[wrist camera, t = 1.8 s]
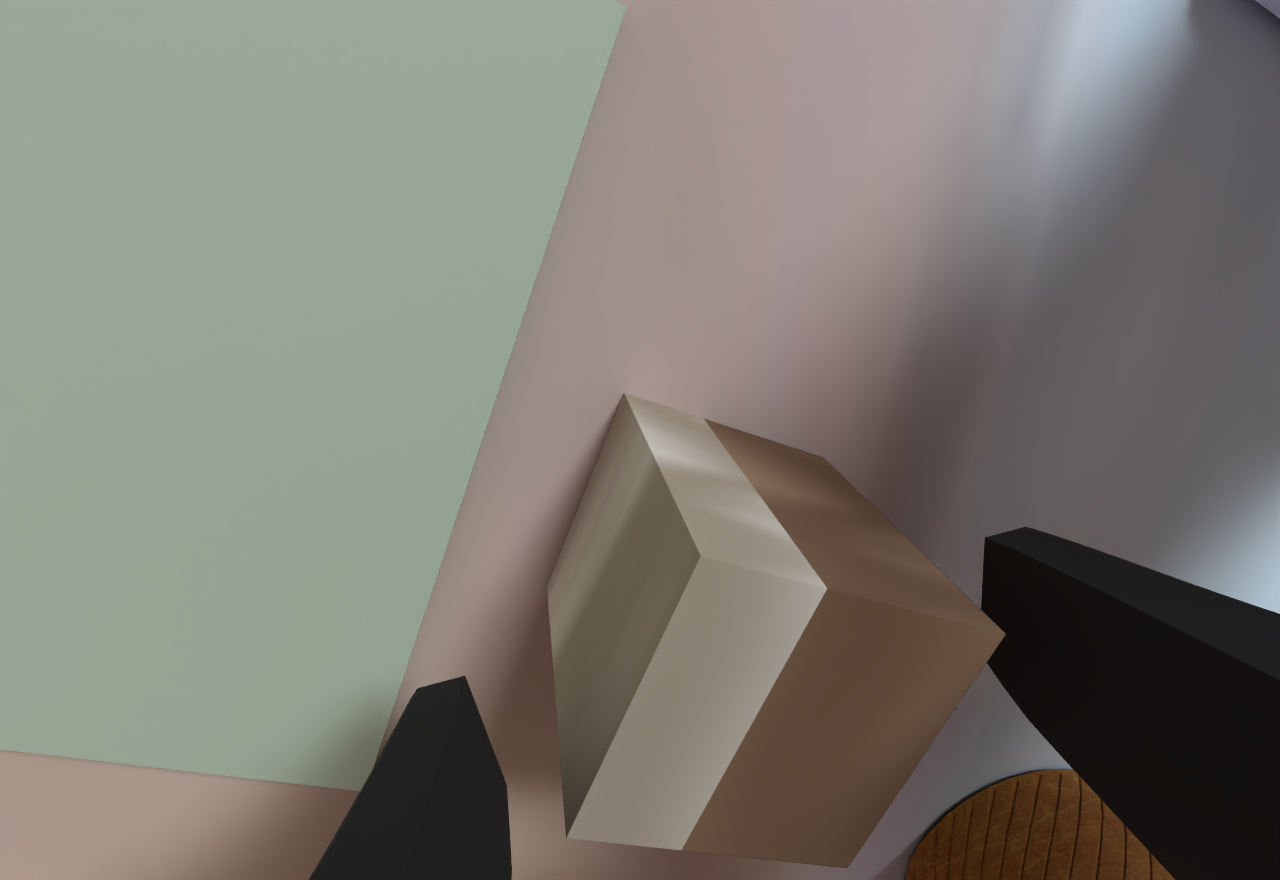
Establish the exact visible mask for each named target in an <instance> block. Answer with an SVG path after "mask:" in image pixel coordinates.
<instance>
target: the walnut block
mask: <svg viewBox="0 0 1280 880" xmlns="http://www.w3.org/2000/svg"><path fill="white" fill-rule="evenodd" d="M547 594H548V607H549V620H550V633H551V646H552V659H553V672H554V685H555V698H556V711H557V724H558V737H559V750H560V763H561V776H562V789H563V802H564V815H565V828H566V838H569V839H578V840H588V841H597V842H606V843H616V844H625V845H635V846H644V847H653V848H663V849H672V850H681V851H691V852H700V853H710V854H719V855H728V856H738V857H747V858H757V859H766V860H775V861H785V862H794V863H804V864H813V865H822V866H832V867H841V868H848V866H849V865H850V863H851V862H852V860H853V859H854V858H855V856H856V855H857V853H858V852H859V850H860V849H861V847H862V846H863V844H864V843H865V841H866V840H867V838H868V837H869V835H870V834H871V832H872V831H873V829H874V828H875V827H876V825H877V824H878V822H879V821H880V819H881V818H882V816H883V815H884V813H885V812H886V810H887V809H888V807H889V806H890V804H891V803H892V801H893V800H894V798H895V797H896V796H897V794H898V793H899V791H900V790H901V788H902V787H903V785H904V784H905V782H906V781H907V779H908V778H909V776H910V775H911V773H912V772H913V770H914V769H915V767H916V766H917V765H918V763H919V762H920V760H921V759H922V757H923V756H924V754H925V753H926V751H927V750H928V748H929V747H930V745H931V744H932V742H933V741H934V739H935V738H936V737H937V735H938V734H939V732H940V731H941V729H942V728H943V726H944V725H945V723H946V722H947V720H948V719H949V717H950V716H951V714H952V713H953V711H954V710H955V708H956V707H957V706H958V704H959V703H960V701H961V700H962V698H963V697H964V695H965V694H966V692H967V691H968V689H969V688H970V686H971V685H972V683H973V682H974V680H975V679H976V677H977V676H978V675H979V673H980V672H981V670H982V669H983V667H984V666H985V664H986V663H987V661H988V660H989V658H990V657H991V655H992V654H993V652H994V651H995V649H996V648H997V646H998V645H999V644H1000V642H1001V641H1002V639H1003V638H1004V636H1005V635H1006V634H1005V633H1004V632H1003V631H1002V630H1001V629H1000V628H999V627H998V626H997V625H996V624H995V623H994V622H993V621H992V620H991V619H990V618H989V617H988V616H987V615H986V614H985V613H984V612H983V611H982V610H981V609H980V608H979V607H978V606H976V605H975V604H974V603H973V602H972V601H971V600H970V599H969V598H968V597H967V596H966V595H965V594H964V593H963V592H962V591H961V590H960V589H959V588H958V587H957V586H956V585H955V584H954V583H953V582H952V581H951V580H950V579H949V578H947V577H946V576H945V575H944V574H943V573H942V572H941V571H940V570H939V569H938V568H937V567H936V566H935V565H934V564H933V563H932V562H931V561H930V560H929V559H928V558H927V557H926V556H925V555H924V554H923V553H922V552H921V551H920V550H918V549H917V548H916V547H915V546H914V545H913V544H912V543H911V542H910V541H909V540H908V539H907V538H906V537H905V536H904V535H903V534H902V533H901V532H900V531H899V530H898V529H897V528H896V527H895V526H894V525H893V524H892V523H891V522H889V521H888V520H887V519H886V518H885V517H884V516H883V515H882V514H881V513H880V512H879V511H878V510H877V509H876V508H875V507H874V506H873V505H872V504H871V503H870V502H869V501H868V500H867V499H866V498H865V497H864V496H863V495H862V494H860V493H859V492H858V491H857V490H856V489H855V488H854V487H853V486H852V485H851V484H850V483H849V482H848V481H847V480H846V479H845V478H844V477H843V476H842V475H841V474H840V473H839V472H838V471H837V470H836V469H835V468H834V467H832V466H831V465H830V464H829V463H828V462H827V461H826V460H825V459H824V458H823V457H820V456H817V455H814V454H811V453H808V452H805V451H801V450H798V449H795V448H792V447H789V446H786V445H783V444H780V443H777V442H774V441H771V440H768V439H764V438H761V437H758V436H755V435H752V434H749V433H746V432H743V431H740V430H737V429H734V428H731V427H728V426H724V425H721V424H718V423H715V422H712V421H709V420H706V419H703V418H700V417H697V416H694V415H691V414H688V413H684V412H681V411H678V410H675V409H672V408H669V407H666V406H663V405H660V404H657V403H654V402H651V401H647V400H644V399H641V398H638V397H635V396H632V395H629V394H626V393H624V394H623V397H622V399H621V402H620V404H619V407H618V409H617V412H616V414H615V417H614V419H613V422H612V425H611V427H610V430H609V432H608V435H607V437H606V440H605V442H604V445H603V447H602V450H601V452H600V455H599V457H598V460H597V462H596V465H595V467H594V470H593V472H592V475H591V477H590V480H589V482H588V485H587V487H586V490H585V492H584V495H583V497H582V500H581V502H580V505H579V508H578V510H577V513H576V515H575V518H574V520H573V523H572V525H571V528H570V530H569V533H568V535H567V538H566V540H565V543H564V545H563V548H562V550H561V553H560V555H559V558H558V560H557V563H556V565H555V568H554V570H553V573H552V575H551V578H550V580H549V583H548V586H547Z"/></svg>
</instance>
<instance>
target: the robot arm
mask: <svg viewBox="0 0 1280 880" xmlns="http://www.w3.org/2000/svg"><path fill="white" fill-rule="evenodd" d="M1255 1H1257V2H1258V3H1259V4H1261V5H1262V6H1263V7H1265V8H1266V9H1267V10H1269V11H1270V12H1271V13H1273V14H1274V15H1275V16H1277V17H1278V18H1279V19H1280V0H1255ZM981 610H982V611H983V612H984V613H985V614H986V615H987V616H988V617H989V618H990V619H991V620H992V621H993V622H994V623H995V624H996V625H997V626H998V627H999V628H1000V629H1001V630H1002V631H1003V632H1004V633H1005V634H1006V635H1005V636H1004V638H1003V639H1002V641H1001V642H1000V644H999V645H998V646H997V648H996V649H995V651H994V652H993V654H992V655H991V657H990V658H989V660H988V661H987V664H988V665H989V667H990V668H991V669H992V671H993V672H994V674H995V675H996V677H997V678H998V679H999V681H1000V682H1001V684H1002V685H1003V687H1004V688H1005V689H1006V691H1007V692H1008V693H1009V695H1010V696H1011V697H1012V699H1013V700H1014V701H1015V703H1016V704H1017V705H1018V707H1019V708H1020V709H1021V711H1022V712H1023V713H1024V715H1025V716H1026V717H1027V719H1028V720H1029V721H1030V722H1031V723H1032V724H1033V725H1034V726H1035V728H1036V729H1037V730H1038V731H1039V732H1040V733H1041V734H1042V735H1043V737H1044V738H1045V739H1046V740H1047V741H1048V742H1049V743H1050V744H1051V745H1052V746H1053V748H1054V749H1055V750H1056V751H1057V752H1058V753H1059V754H1060V755H1061V756H1062V757H1063V759H1064V760H1065V761H1066V762H1067V763H1068V764H1069V765H1070V766H1071V767H1072V768H1073V770H1074V771H1075V772H1076V773H1077V774H1078V775H1079V776H1080V777H1081V778H1082V779H1083V780H1084V781H1085V783H1086V784H1087V785H1088V786H1089V787H1090V788H1091V789H1092V790H1093V791H1094V792H1095V793H1096V794H1097V796H1098V797H1099V798H1100V799H1101V800H1102V801H1103V802H1104V803H1105V804H1106V805H1107V806H1108V807H1109V809H1110V810H1111V811H1112V812H1113V813H1114V814H1115V815H1116V816H1117V817H1118V818H1119V819H1120V820H1121V821H1122V823H1123V824H1124V825H1125V826H1126V827H1127V828H1128V829H1129V830H1130V831H1131V832H1132V833H1133V834H1134V836H1135V837H1136V838H1137V839H1138V840H1139V841H1140V842H1141V843H1142V844H1143V845H1144V846H1145V847H1146V849H1147V850H1148V851H1149V852H1150V853H1151V854H1152V855H1153V856H1154V857H1155V858H1156V859H1157V860H1158V862H1159V863H1160V864H1161V865H1162V866H1163V867H1164V868H1165V869H1166V870H1167V871H1168V872H1169V873H1170V875H1171V876H1172V877H1173V878H1174V879H1175V880H1280V614H1278V613H1275V612H1272V611H1269V610H1266V609H1263V608H1260V607H1257V606H1254V605H1251V604H1248V603H1245V602H1242V601H1239V600H1237V599H1234V598H1231V597H1228V596H1225V595H1222V594H1219V593H1216V592H1213V591H1210V590H1208V589H1205V588H1202V587H1199V586H1196V585H1193V584H1190V583H1188V582H1185V581H1182V580H1179V579H1176V578H1174V577H1171V576H1168V575H1165V574H1162V573H1160V572H1157V571H1154V570H1151V569H1148V568H1146V567H1143V566H1140V565H1137V564H1134V563H1132V562H1129V561H1126V560H1123V559H1121V558H1118V557H1115V556H1112V555H1109V554H1107V553H1104V552H1101V551H1098V550H1095V549H1092V548H1090V547H1087V546H1084V545H1081V544H1078V543H1075V542H1072V541H1069V540H1066V539H1063V538H1060V537H1057V536H1054V535H1051V534H1048V533H1045V532H1041V531H1038V530H1035V529H1031V528H1028V527H1023V528H1019V529H1016V530H1012V531H1008V532H1004V533H1001V534H997V535H993V536H989V537H985V544H984V564H983V584H982V604H981ZM511 876H512V865H511V846H510V828H509V813H508V798H507V785H506V782H505V780H504V777H503V774H502V772H501V769H500V767H499V764H498V761H497V759H496V756H495V753H494V751H493V748H492V745H491V743H490V740H489V737H488V735H487V732H486V730H485V727H484V724H483V722H482V719H481V716H480V714H479V711H478V708H477V706H476V703H475V701H474V698H473V695H472V693H471V690H470V687H469V685H468V682H467V679H466V677H465V676H462V677H459V678H455V679H451V680H447V681H443V682H440V683H436V684H432V685H428V686H425V687H421V688H418V689H417V690H416V692H415V693H414V694H413V696H412V697H411V699H410V701H409V703H408V705H407V707H406V708H405V710H404V712H403V714H402V716H401V718H400V719H399V721H398V723H397V725H396V727H395V729H394V731H393V733H392V734H391V736H390V738H389V740H388V742H387V744H386V746H385V747H384V749H383V751H382V753H381V755H380V757H379V758H378V760H377V762H376V764H375V766H374V768H373V769H372V771H371V773H370V775H369V777H368V778H367V780H366V782H365V784H364V786H363V787H362V789H361V791H360V793H359V795H358V796H357V798H356V800H355V802H354V803H353V805H352V807H351V808H350V810H349V812H348V814H347V815H346V817H345V819H344V821H343V822H342V824H341V826H340V827H339V829H338V831H337V833H336V834H335V836H334V838H333V840H332V841H331V843H330V845H329V846H328V848H327V850H326V852H325V853H324V855H323V857H322V859H321V860H320V862H319V864H318V865H317V867H316V869H315V870H314V872H313V873H312V875H311V877H310V878H309V880H511Z"/></svg>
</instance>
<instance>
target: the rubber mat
mask: <svg viewBox="0 0 1280 880" xmlns="http://www.w3.org/2000/svg"><path fill="white" fill-rule="evenodd" d="M625 10H626V6H624V5H622V4H620V3H618V2H616V1H614V0H0V749H1V750H9V751H18V752H26V753H35V754H44V755H52V756H61V757H69V758H78V759H86V760H95V761H103V762H112V763H120V764H129V765H137V766H146V767H155V768H163V769H172V770H180V771H189V772H197V773H206V774H214V775H223V776H231V777H240V778H248V779H257V780H266V781H274V782H283V783H291V784H300V785H308V786H317V787H325V788H334V789H342V790H351V791H361V789H362V787H363V786H364V784H365V782H366V780H367V778H368V777H369V775H370V773H371V771H372V769H373V767H374V764H375V761H376V758H377V755H378V752H379V749H380V746H381V743H382V740H383V737H384V734H385V731H386V728H387V725H388V722H389V719H390V716H391V713H392V710H393V707H394V704H395V701H396V698H397V695H398V692H399V689H400V686H401V683H402V680H403V677H404V674H405V671H406V668H407V665H408V662H409V659H410V656H411V653H412V650H413V647H414V644H415V641H416V638H417V635H418V632H419V629H420V626H421V623H422V620H423V617H424V614H425V611H426V608H427V605H428V602H429V599H430V596H431V593H432V590H433V587H434V584H435V581H436V578H437V575H438V572H439V569H440V566H441V563H442V560H443V557H444V554H445V551H446V548H447V545H448V542H449V539H450V536H451V533H452V530H453V527H454V524H455V521H456V518H457V515H458V512H459V509H460V506H461V503H462V500H463V497H464V494H465V491H466V488H467V485H468V482H469V479H470V476H471V473H472V470H473V467H474V464H475V461H476V458H477V455H478V452H479V449H480V446H481V443H482V440H483V437H484V434H485V431H486V428H487V425H488V422H489V419H490V416H491V413H492V410H493V407H494V404H495V401H496V397H497V394H498V391H499V388H500V385H501V382H502V379H503V376H504V373H505V370H506V367H507V364H508V361H509V358H510V355H511V352H512V349H513V346H514V343H515V340H516V337H517V334H518V331H519V328H520V325H521V322H522V319H523V316H524V313H525V310H526V307H527V304H528V301H529V298H530V295H531V292H532V289H533V286H534V283H535V280H536V277H537V274H538V271H539V268H540V265H541V262H542V259H543V256H544V253H545V250H546V247H547V244H548V241H549V238H550V235H551V232H552V229H553V226H554V223H555V220H556V217H557V214H558V211H559V208H560V205H561V202H562V199H563V196H564V193H565V190H566V187H567V184H568V181H569V178H570V175H571V172H572V169H573V166H574V163H575V160H576V157H577V154H578V151H579V148H580V145H581V142H582V139H583V136H584V133H585V130H586V127H587V124H588V121H589V118H590V115H591V112H592V109H593V106H594V103H595V100H596V97H597V94H598V91H599V88H600V85H601V82H602V79H603V76H604V73H605V70H606V67H607V64H608V61H609V58H610V55H611V52H612V49H613V46H614V43H615V40H616V37H617V34H618V31H619V28H620V25H621V22H622V19H623V16H624V13H625Z"/></svg>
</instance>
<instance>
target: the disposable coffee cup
mask: <svg viewBox="0 0 1280 880" xmlns="http://www.w3.org/2000/svg"><path fill="white" fill-rule="evenodd" d="M905 880H1175V879H1174V878H1173V877H1172V876H1171V875H1170V873H1169V872H1168V871H1167V870H1166V869H1165V868H1164V867H1163V866H1162V865H1161V864H1160V863H1159V862H1158V860H1157V859H1156V858H1155V857H1154V856H1153V855H1152V854H1151V853H1150V852H1149V851H1148V850H1147V849H1146V847H1145V846H1144V845H1143V844H1142V843H1141V842H1140V841H1139V840H1138V839H1137V838H1136V837H1135V836H1134V834H1133V833H1132V832H1131V831H1130V830H1129V829H1128V828H1127V827H1126V826H1125V825H1124V824H1123V823H1122V821H1121V820H1120V819H1119V818H1118V817H1117V816H1116V815H1115V814H1114V813H1113V812H1112V811H1111V810H1110V809H1109V807H1108V806H1107V805H1106V804H1105V803H1104V802H1103V801H1102V800H1101V799H1100V798H1099V797H1098V796H1097V794H1096V793H1095V792H1094V791H1093V790H1092V789H1091V788H1090V787H1089V786H1088V785H1087V784H1086V783H1085V781H1084V780H1083V779H1082V778H1081V777H1080V776H1079V775H1078V774H1077V773H1076V772H1075V771H1074V770H1051V769H1050V770H1043V771H1035V772H1030V773H1027V774H1023V775H1020V776H1016V777H1012V778H1009V779H1007V780H1005V781H1002V782H1000V783H998V784H995V785H993V786H990V787H988V788H986V789H985V790H983V791H981V792H979V793H978V794H976V795H974V796H972V797H971V798H969V799H967V800H966V801H964V802H963V803H962V804H960V805H959V806H958V807H956V808H955V809H953V810H952V811H951V812H949V813H948V814H947V815H946V816H945V817H944V818H943V819H942V820H941V821H940V822H939V823H938V824H937V825H936V826H935V827H934V828H933V829H932V830H931V831H930V832H929V833H928V834H927V835H926V837H925V838H924V839H923V841H922V842H921V843H920V844H919V846H918V847H917V849H916V851H915V853H914V855H913V857H912V858H911V860H910V862H909V866H908V870H907V874H906V877H905Z"/></svg>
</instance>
